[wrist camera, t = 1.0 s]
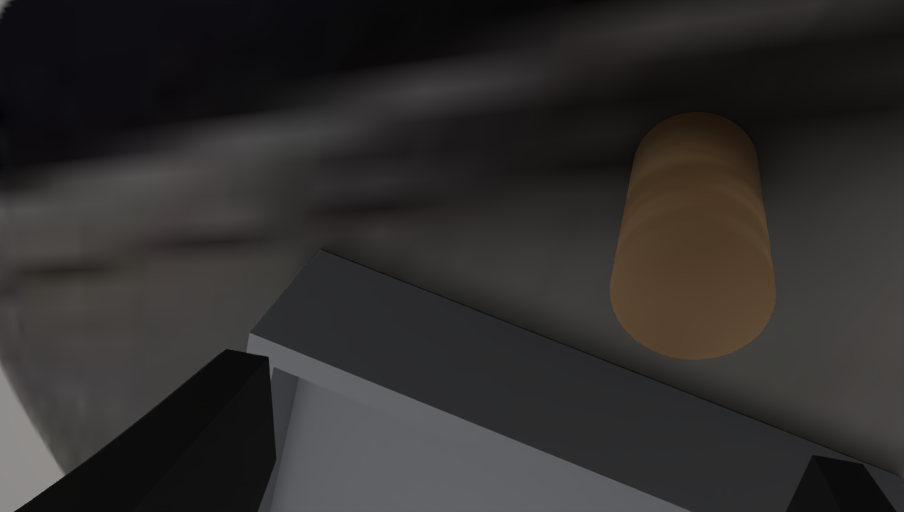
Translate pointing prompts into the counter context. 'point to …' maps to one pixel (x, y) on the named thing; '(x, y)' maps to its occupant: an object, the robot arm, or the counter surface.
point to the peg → (694, 241)
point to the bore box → (491, 416)
